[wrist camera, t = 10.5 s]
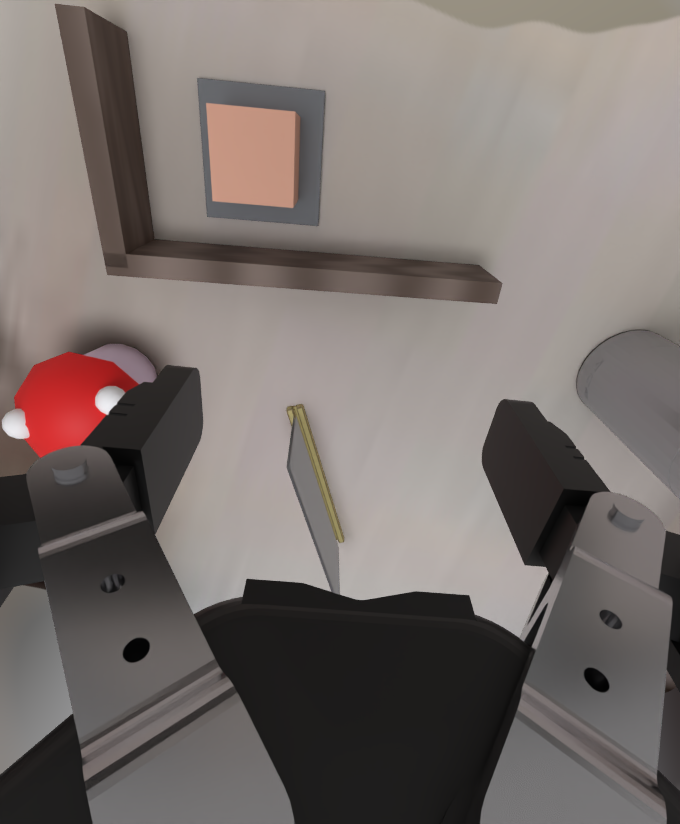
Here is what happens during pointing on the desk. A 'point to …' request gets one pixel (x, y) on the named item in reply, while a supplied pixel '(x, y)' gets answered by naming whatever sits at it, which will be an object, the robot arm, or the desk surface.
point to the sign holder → (314, 494)
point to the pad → (310, 153)
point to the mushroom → (74, 395)
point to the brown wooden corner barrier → (161, 259)
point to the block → (254, 155)
